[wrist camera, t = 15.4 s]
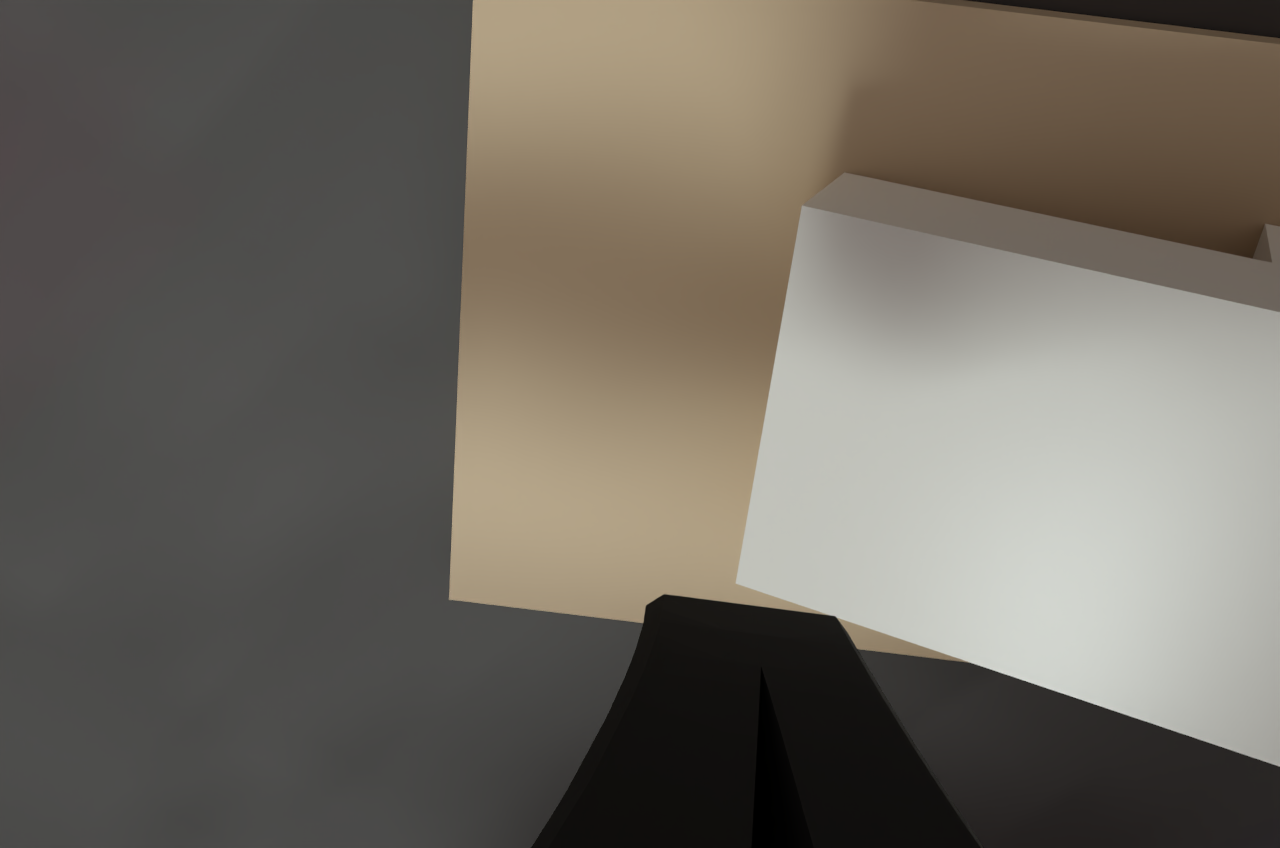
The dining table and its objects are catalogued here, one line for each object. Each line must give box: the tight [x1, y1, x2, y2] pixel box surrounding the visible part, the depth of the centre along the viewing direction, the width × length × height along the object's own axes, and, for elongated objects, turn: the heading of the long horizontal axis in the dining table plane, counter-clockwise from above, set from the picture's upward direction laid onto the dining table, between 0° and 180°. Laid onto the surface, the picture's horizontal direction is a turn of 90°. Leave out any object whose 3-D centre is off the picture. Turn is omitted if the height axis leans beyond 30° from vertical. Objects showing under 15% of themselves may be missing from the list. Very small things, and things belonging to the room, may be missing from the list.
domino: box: [736, 172, 1280, 767], centre depth 12 cm, size 2×4×7 cm
